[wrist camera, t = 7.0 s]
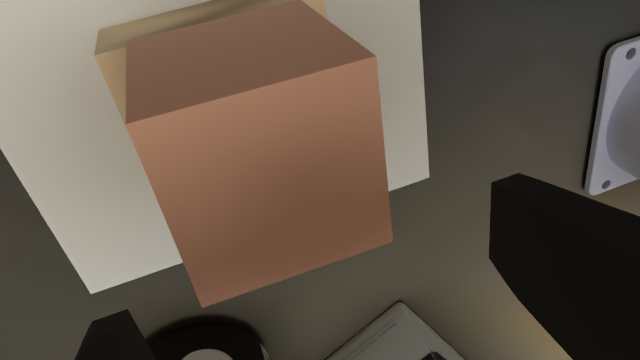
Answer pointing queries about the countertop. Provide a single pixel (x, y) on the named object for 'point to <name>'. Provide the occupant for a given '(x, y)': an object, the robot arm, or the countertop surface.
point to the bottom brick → (114, 37)
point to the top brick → (260, 145)
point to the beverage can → (209, 344)
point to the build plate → (114, 140)
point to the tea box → (396, 340)
